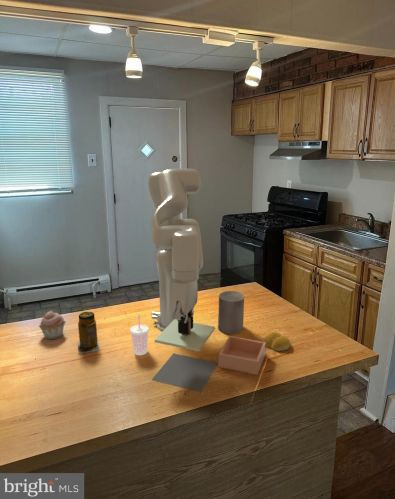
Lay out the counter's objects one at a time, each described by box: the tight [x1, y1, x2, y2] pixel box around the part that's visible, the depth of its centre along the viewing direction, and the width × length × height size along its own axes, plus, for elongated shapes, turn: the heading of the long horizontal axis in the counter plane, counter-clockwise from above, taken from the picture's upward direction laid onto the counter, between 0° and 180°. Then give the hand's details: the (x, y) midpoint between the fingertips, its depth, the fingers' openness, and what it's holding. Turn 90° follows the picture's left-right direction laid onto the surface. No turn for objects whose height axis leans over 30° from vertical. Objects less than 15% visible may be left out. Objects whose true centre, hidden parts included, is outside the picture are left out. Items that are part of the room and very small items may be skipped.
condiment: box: [76, 311, 101, 354], centre depth 130 cm, size 7×8×12 cm
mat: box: [151, 353, 218, 393], centre depth 117 cm, size 16×16×1 cm
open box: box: [217, 335, 267, 377], centre depth 122 cm, size 13×13×5 cm
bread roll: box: [263, 332, 291, 352], centre depth 133 cm, size 8×9×4 cm
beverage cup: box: [129, 314, 149, 356], centre depth 126 cm, size 6×6×14 cm
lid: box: [154, 316, 216, 352], centre depth 113 cm, size 14×14×6 cm
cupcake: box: [38, 310, 67, 340], centre depth 138 cm, size 9×9×10 cm
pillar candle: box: [217, 290, 245, 335], centre depth 143 cm, size 10×10×15 cm
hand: (185, 330), depth 113 cm, fingers closed on lid, 3 cm apart
